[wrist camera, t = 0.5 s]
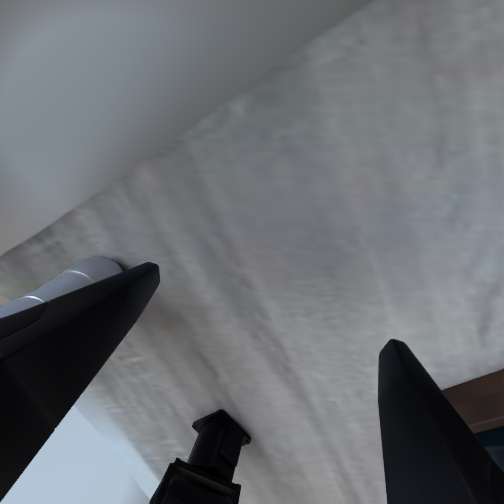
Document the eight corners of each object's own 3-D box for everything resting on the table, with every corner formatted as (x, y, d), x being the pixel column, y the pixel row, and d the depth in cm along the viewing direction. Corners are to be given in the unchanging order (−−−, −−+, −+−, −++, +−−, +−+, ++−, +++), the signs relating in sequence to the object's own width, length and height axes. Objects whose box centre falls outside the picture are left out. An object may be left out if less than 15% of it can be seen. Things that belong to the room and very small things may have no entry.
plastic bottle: (124, 247, 29) (-201, 410, 11) (144, 299, 31) (-97, 508, 13) (80, 254, 30) (-262, 403, 12) (102, 302, 33) (-162, 490, 14)
